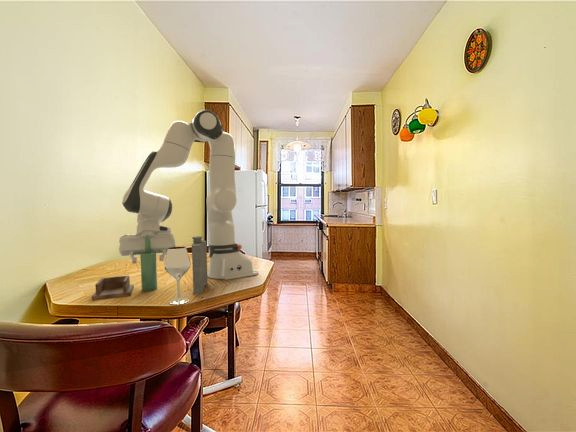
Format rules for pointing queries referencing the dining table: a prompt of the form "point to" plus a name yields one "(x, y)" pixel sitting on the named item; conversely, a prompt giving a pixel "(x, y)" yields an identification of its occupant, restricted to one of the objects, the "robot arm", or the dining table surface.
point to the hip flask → (199, 264)
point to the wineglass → (177, 268)
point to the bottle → (148, 267)
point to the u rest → (113, 287)
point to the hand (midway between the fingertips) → (148, 261)
